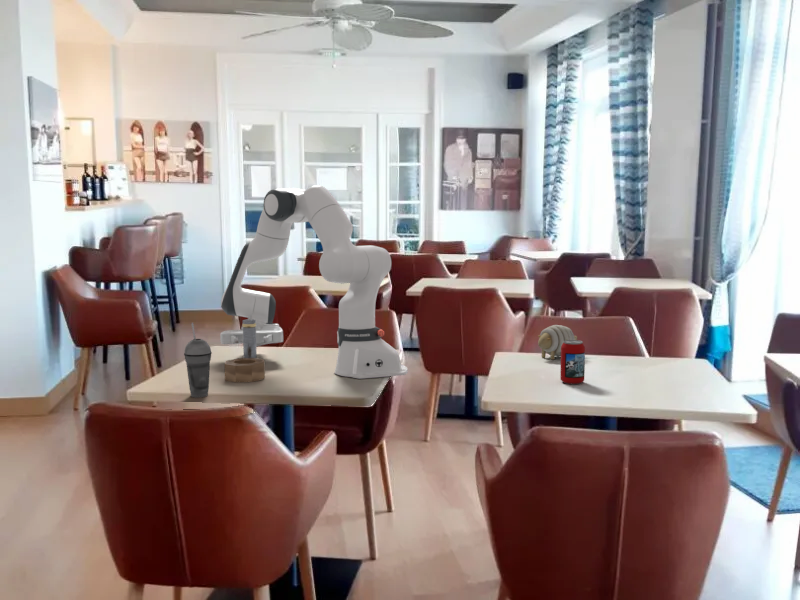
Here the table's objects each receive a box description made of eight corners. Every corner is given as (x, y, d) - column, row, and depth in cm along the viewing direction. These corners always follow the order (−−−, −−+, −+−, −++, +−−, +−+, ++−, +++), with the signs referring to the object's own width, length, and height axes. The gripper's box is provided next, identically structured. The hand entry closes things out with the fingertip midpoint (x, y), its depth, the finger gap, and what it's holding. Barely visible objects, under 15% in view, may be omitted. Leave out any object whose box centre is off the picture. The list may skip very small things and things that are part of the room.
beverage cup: (209, 398, 203) (206, 324, 201) (182, 398, 204) (179, 324, 201) (216, 392, 211) (213, 320, 208) (190, 392, 211) (187, 320, 209)
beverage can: (570, 386, 215) (571, 344, 214) (555, 381, 221) (556, 340, 220) (589, 383, 218) (590, 342, 217) (573, 379, 224) (574, 338, 223)
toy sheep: (528, 358, 256) (529, 325, 255) (562, 352, 266) (562, 320, 265) (552, 362, 248) (553, 329, 247) (586, 356, 258) (586, 324, 257)
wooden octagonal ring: (265, 373, 235) (264, 357, 234) (263, 381, 223) (263, 364, 223) (227, 374, 233) (226, 358, 233) (223, 383, 222) (223, 366, 221)
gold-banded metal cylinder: (257, 368, 242) (256, 319, 240) (257, 371, 238) (255, 320, 236) (244, 369, 241) (242, 319, 239) (243, 372, 237) (241, 321, 235)
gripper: (221, 325, 254) (217, 331, 241) (283, 323, 257) (282, 329, 243) (222, 343, 255) (217, 351, 241) (283, 341, 258) (283, 349, 244)
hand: (250, 340), depth 242 cm, fingers open, 8 cm apart
